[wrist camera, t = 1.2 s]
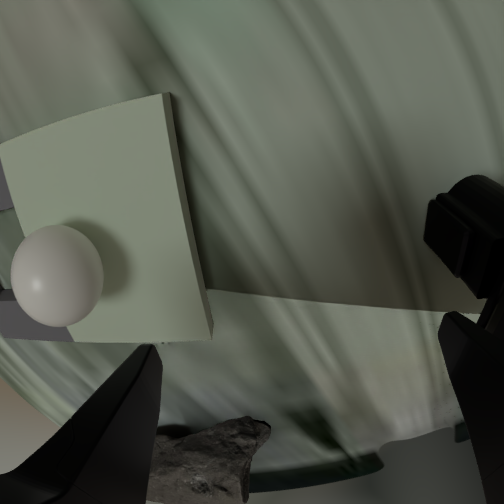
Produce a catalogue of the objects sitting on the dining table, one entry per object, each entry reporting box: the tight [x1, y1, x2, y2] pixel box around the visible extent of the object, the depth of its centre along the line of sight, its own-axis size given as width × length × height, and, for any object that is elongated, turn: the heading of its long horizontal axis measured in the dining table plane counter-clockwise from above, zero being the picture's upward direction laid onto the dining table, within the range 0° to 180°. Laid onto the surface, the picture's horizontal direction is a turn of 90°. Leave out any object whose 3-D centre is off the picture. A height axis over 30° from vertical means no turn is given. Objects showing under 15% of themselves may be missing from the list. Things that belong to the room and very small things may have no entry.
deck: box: [0, 92, 214, 343], centre depth 17 cm, size 18×14×2 cm
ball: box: [11, 225, 104, 327], centre depth 14 cm, size 5×5×5 cm
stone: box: [146, 416, 271, 504], centre depth 25 cm, size 18×9×10 cm
